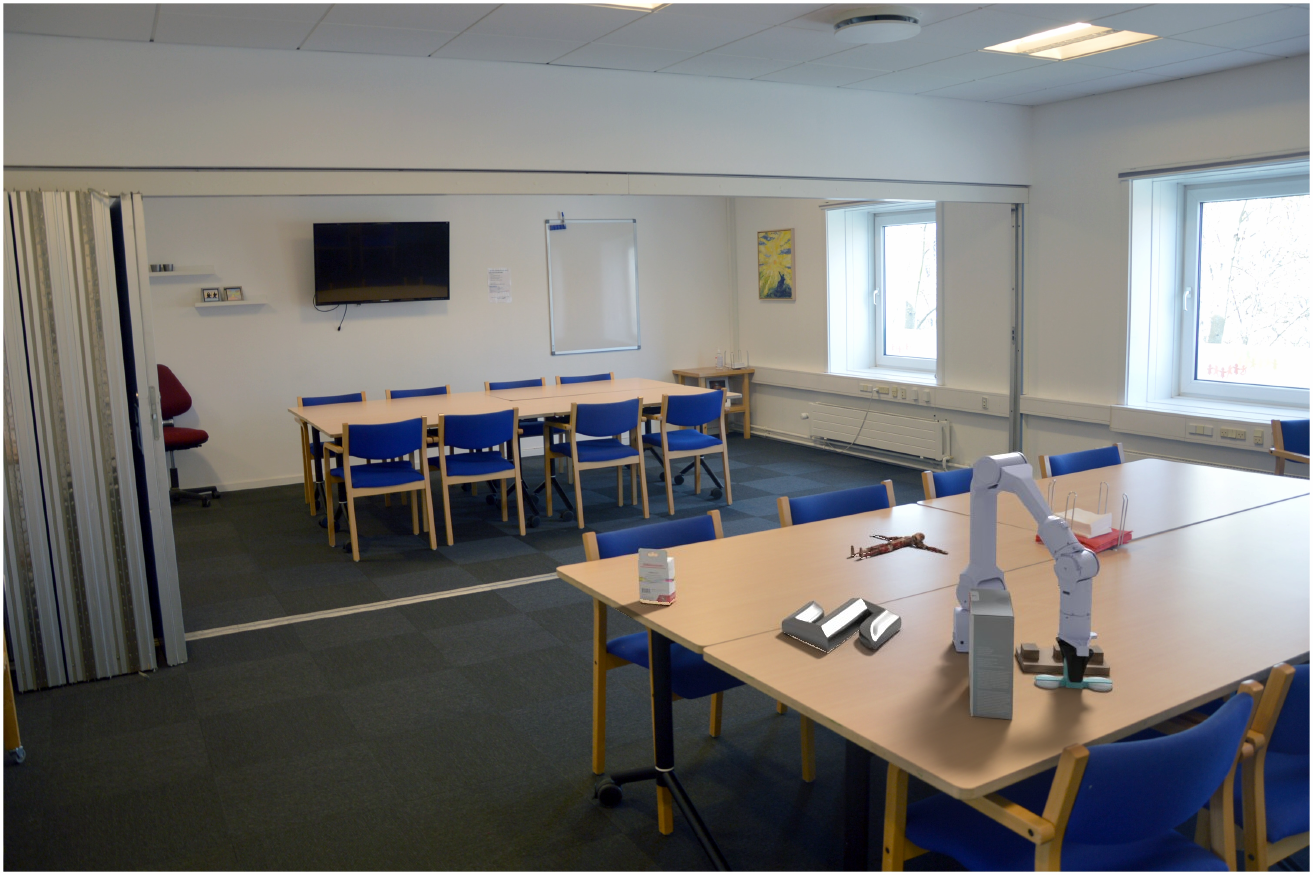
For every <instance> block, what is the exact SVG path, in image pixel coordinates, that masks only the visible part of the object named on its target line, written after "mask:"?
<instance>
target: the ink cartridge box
mask: <svg viewBox="0 0 1313 875" xmlns="http://www.w3.org/2000/svg"><path fill="white" fill-rule="evenodd" d="M649 554H654V555H649ZM655 555H656V556H655ZM637 565H638V567H637V568H638V587H639V589H638V590H639V600H640V599H643V600H649V601H658V602H669V603H670V602H671V601H672V600H673V599H675V598H676V597H677V596H676V595H677V594H676V572H675V570H676V569H675V557H671V556H670V557H669V556H668V550H666V549H654V548H643V547H642V548H641V547H640V548H638V560H637Z"/></svg>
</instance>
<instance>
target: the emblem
mask: <svg viewBox="0 0 1313 875" xmlns="http://www.w3.org/2000/svg"><path fill="white" fill-rule="evenodd" d="M901 627H902V618H901V616H900V615H899V614H896V613H894V612H892V611H890V610H889V609H888V608H887V609H886V608H885V607H882V606H880V605H877V604H875V603H873V602H871V601H868V600H867V599H864V598H861V597H852V598H850V599H848V600H847V601H846V602H844V603H843V604H841V605H840V606H839V607H837V608H836V609H834V610H832V611H831V612H830V613H828V614H827V615H826V616H825V610H824V608H823V606H821V605H820V604H819V603H817V602H816V601H815V600H811V601H808V602H806V604H805V605H803V606H801V607H800V608H799V609H798V610H796V611H795V612H793V613H791V614H790V615H788V616H787V617H785V618H784V619H782V621H781V632H782V631H783V632H785V633H787V634H789V635H791V636H794V637H796V638H798V639H800V640H802V641H804V642H807V643H809V644H811V645H814V646H815V647H818V648H820V649H822V650H824V651H826V652H829V651H830V650H831V649H833V648H835V647H836V646H837V645H839V644H840V643H842V642H843V641H844V640H846V639H847V638H849V637H850V636H851V635H853V634H854V633H855V632H857V631H858V630H859V631H858V632H857V633H858V639H859V641H860V643H862V644H863V645H864V646H866V648H869V649H875V650H876V649H878V648H879V647H881V645H883V643H885V642H886V641H887V640H888V639H890V638H891V637H892V636H893V635H894V634H896V633H897V632H898V631H899V630H900V629H901ZM783 632H782V633H783ZM855 634H856V633H855ZM855 634H854V635H855ZM854 635H853V636H854ZM850 638H851V637H850ZM850 638H849V639H850ZM846 641H847V640H846ZM842 644H843V643H842ZM839 646H840V645H839ZM835 649H836V648H835Z"/></svg>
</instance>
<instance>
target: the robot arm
mask: <svg viewBox="0 0 1313 875" xmlns="http://www.w3.org/2000/svg"><path fill="white" fill-rule="evenodd" d="M1033 473H1034V468H1033V466H1032V464H1030V462H1029V460H1028V457H1026V456H1025V455H1024V454H1023V453H1022V452H1019V451H1012V452H1010V453H1009V452H1008V453H1003V454H1002V453H1001V454H995V455H983V456H981V457H980V458H978V459H977V460H976V461H975V462H974V463H973V464H972V479H971V482H970V484H969V486H970V487H969V490H970V491H969V492H970V493H969V564H968V565H967V566H966V567H965V568H964V569H963V570H962V571H961V572H960V573H959V575H958V577H959V581H958V584H957V586H956V590H955V595H956V600H957V601H958V603H959V605H960V606H957V607H956V606H955V607H954V608H953V620H952V621H953V624H952V626H953V627H952V628H953V629H952V641H953V644H954V647H955V651H956V652H957V653H969V589H970V588H971V589H972V588H973V589H994V590H1008V587H1007V584H1006V582H1005V572H1004V571H1003V570H1002V569H1001V568H1000V567H998V566H997V535H998V534H997V533H998V532H997V531H998V530H997V529H998V528H997V526H998V519H997V518H998V495H999V494H1000V493H1001V492H1006V493H1011V494H1015V495H1016V497H1017V498H1018V499H1019V501H1020V502H1021V503H1022V504H1023V506H1024V507H1025V509H1026V510H1027V511H1028V512H1029V514H1030V515H1031V516H1032V518H1033V519H1034V520H1035V522H1036V523H1037V524H1038V526H1037V531H1036V534H1037V535H1038V537H1039V538H1040V540H1041V541H1042V543H1043V545H1044V546H1045V548H1046V549H1047V551H1048V552H1049V554H1050V555H1051V556H1052V558H1053V560H1054V562H1055V564H1053V572H1054V574H1055V576H1056V577H1057V583H1058V585H1057V586H1058V587H1059V588H1058V589H1059V612H1058V613H1059V615H1058V618H1059V619H1058V621H1059V622H1058V631H1057V636H1056V637H1055V641H1056V643H1057V645H1059V648H1060V651H1061V655H1062V660H1063V666H1064V658H1066V663H1067V669H1068V677H1069V680H1070V682H1074V683H1081V682H1082V680H1083V678H1084V675H1085V674H1084V673H1085V669H1086V666H1087V664H1088V662H1089V660H1090V659H1091V658H1092V656H1093V654H1094V651H1093V650H1092V649H1089V645H1090V643H1091V641H1092V640H1097V639H1098V634H1097V633H1096V632H1095V631H1094V632H1093V631H1092V611H1093V610H1092V608H1093V581H1094V580H1093V578H1095V577H1097V575H1098V574H1099V573H1100V569H1101V567H1100V566H1101V564H1100V560H1099V558H1098V557H1097V554H1096V552H1094V551H1093V550H1092V549H1089V548H1088V547H1085V545H1084V544H1081V542H1080V541H1079V540H1078V538H1077V537H1076V536H1075V533H1074V532H1073V531H1072V529H1071V526H1070V524H1069V522H1068V521H1067V520H1066V521H1065V519H1064V518H1063V517H1059V516H1057V515H1055V514H1054V513H1053V510H1052V509H1051V507H1050V506H1049V504H1048V502H1047V500H1046V499H1045V497H1044V495H1043V494H1042V492H1041V490H1040V488H1039V486H1038V484H1037V482H1036V480H1035V479H1034V476H1033Z"/></svg>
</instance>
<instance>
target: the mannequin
mask: <svg viewBox="0 0 1313 875" xmlns="http://www.w3.org/2000/svg"><path fill="white" fill-rule="evenodd" d="M874 535H875V536H879V537H882V538H885V539H888V540H892V541H887V543H886V542H885V543H884V542H883V543H879V544H875V545H872V546H870V547H866V548H864V549H863V547H859V551H858V552H855V547H854V545H850V556H851V555H854V556H855V555H856V554H859V556H858V558H859V557H861V558H863V557H867V556H874V555H876V556H878V555H880V554H885V552H886V553H889V552H888V551H890V552H893V551H895V549H896V550H899V549H900V547H901V548H903V547H907V545H909V546H914V547H916V548H918V547H920V548H919V549H921V548H923V549H922V550H925V549H927V550H926V551H929V550H932V551H931V552H933V551H935V552H934V553H938V552H940V554H943V553H944V555H949V551H947V550H943V549H941V548H938V547H936V546H935V547H934V546H929V545H927V544H925V543H923V541H924V540H925V539H926V535H925V534H924V533H923V532H916V533H914V534H913V535H906V536H886V535H881V534H874ZM919 541H920V542H919ZM911 544H912V545H911ZM902 546H903V547H902ZM898 548H899V549H898ZM892 550H893V551H892ZM868 552H870V553H868ZM863 553H868V554H865V555H863ZM877 554H878V555H877ZM874 557H875V556H874Z"/></svg>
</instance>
